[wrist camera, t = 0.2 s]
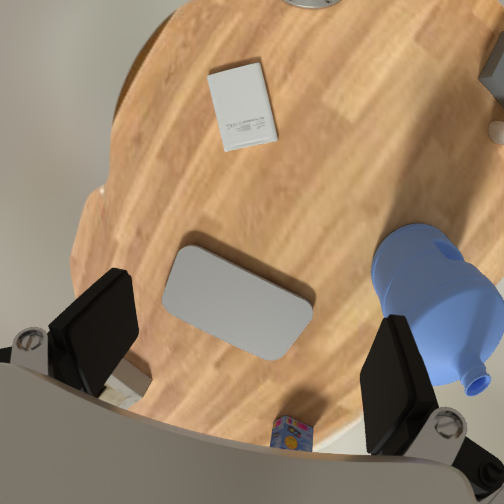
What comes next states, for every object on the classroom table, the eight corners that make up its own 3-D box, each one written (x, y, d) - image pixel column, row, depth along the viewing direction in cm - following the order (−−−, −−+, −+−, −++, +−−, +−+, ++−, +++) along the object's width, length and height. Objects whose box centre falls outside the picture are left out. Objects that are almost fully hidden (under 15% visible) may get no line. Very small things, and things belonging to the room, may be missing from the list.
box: (84, 321, 67) (64, 369, 80) (68, 339, 60) (52, 384, 73) (155, 376, 71) (118, 411, 84) (144, 397, 64) (109, 427, 77)
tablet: (277, 356, 60) (276, 364, 57) (163, 301, 59) (158, 307, 57) (319, 300, 52) (319, 307, 50) (187, 234, 52) (182, 239, 50)
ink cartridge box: (315, 426, 68) (312, 472, 55) (301, 434, 70) (297, 478, 57) (285, 413, 67) (279, 461, 54) (272, 422, 69) (264, 468, 56)
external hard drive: (260, 64, 38) (278, 140, 43) (209, 77, 40) (226, 151, 45) (259, 62, 37) (277, 140, 41) (206, 75, 39) (224, 152, 43)
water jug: (383, 315, 51) (416, 444, 26) (357, 242, 47) (400, 369, 21) (456, 283, 46) (525, 393, 21) (440, 207, 41) (543, 297, 16)
